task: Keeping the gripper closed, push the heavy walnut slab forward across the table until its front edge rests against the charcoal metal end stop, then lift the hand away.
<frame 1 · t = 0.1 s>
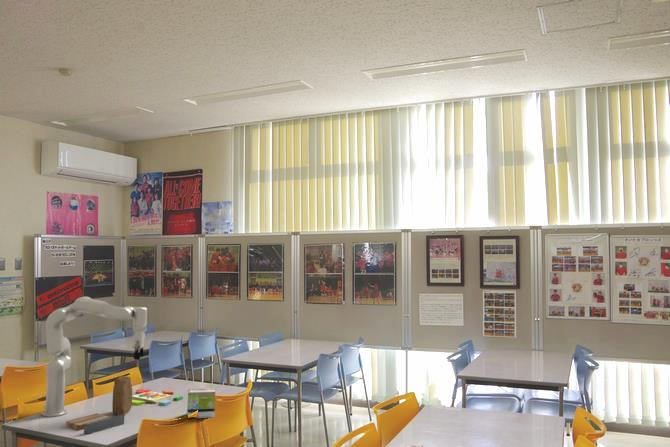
hand: (138, 357, 316), 31 cm above the table, tool pointing down, fingers open, 9 cm apart
end stop: (104, 428, 284), on the table
tea box: (200, 416, 309), on the table
block: (122, 412, 314), on the table
pattern blocks set: (151, 399, 345), on the table
walnut slab: (88, 424, 291), on the table
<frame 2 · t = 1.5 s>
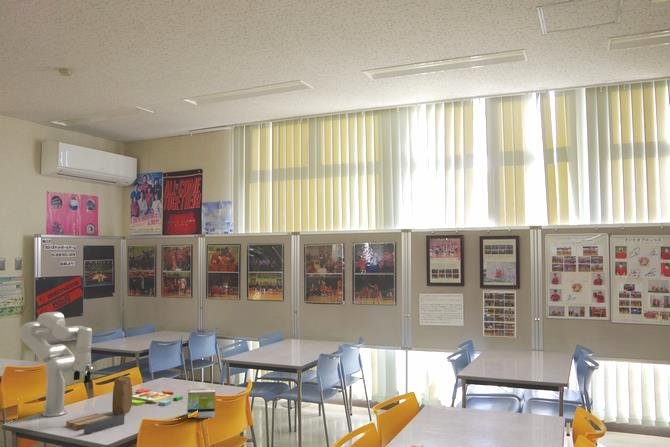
hand: (81, 381, 300), 21 cm above the table, tool pointing down, fingers open, 9 cm apart
nothing on the table moved.
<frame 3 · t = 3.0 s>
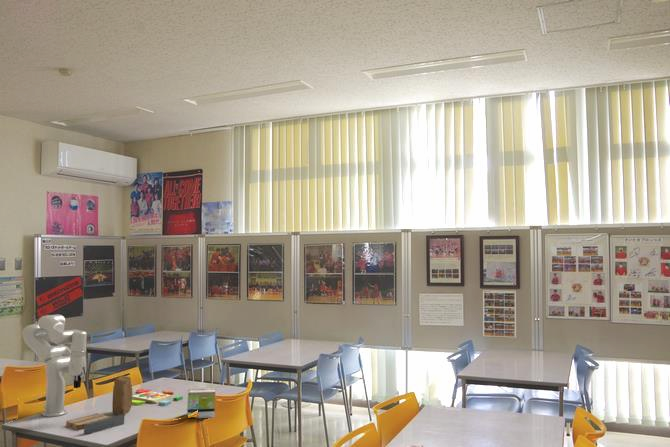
hand: (77, 387, 299), 18 cm above the table, tool pointing down, fingers closed
nothing on the table moved.
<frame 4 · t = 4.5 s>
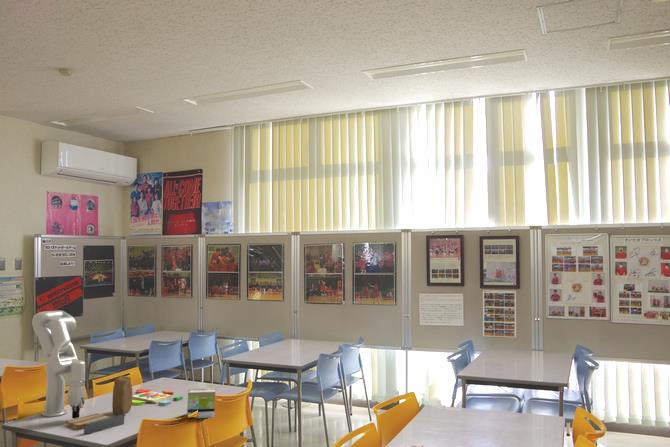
hand: (75, 417, 298), 1 cm above the table, tool pointing down, fingers closed
nothing on the table moved.
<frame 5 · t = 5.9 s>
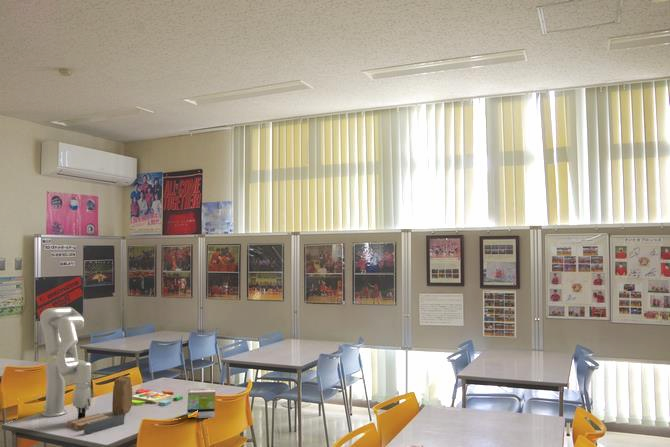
hand: (81, 419, 295), 1 cm above the table, tool pointing down, fingers closed
walnut slab: (89, 425, 291), on the table
everything else where it was.
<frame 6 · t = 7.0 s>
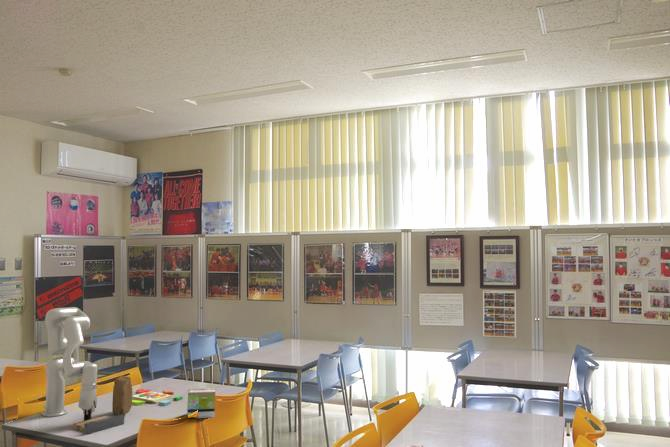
hand: (87, 421, 292), 1 cm above the table, tool pointing down, fingers closed
walnut slab: (95, 427, 288), on the table, touching gripper
everything else where it was.
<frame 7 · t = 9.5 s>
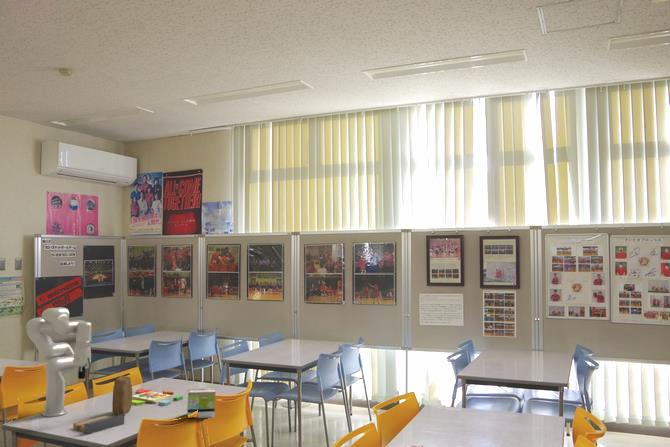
hand: (81, 378, 297), 23 cm above the table, tool pointing down, fingers closed
walnut slab: (95, 427, 288), on the table
everything else where it was.
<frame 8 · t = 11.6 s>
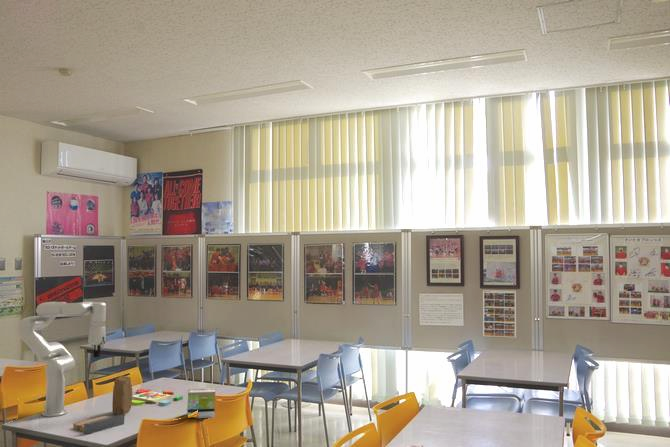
hand: (96, 356, 307), 33 cm above the table, tool pointing down, fingers closed
nothing on the table moved.
at the end: walnut slab 0.4 cm from the target spot, on the table; walnut slab moved 6.6 cm from its start; walnut slab tilted 0° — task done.
